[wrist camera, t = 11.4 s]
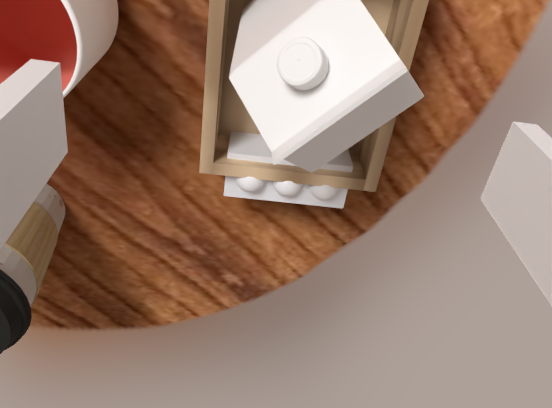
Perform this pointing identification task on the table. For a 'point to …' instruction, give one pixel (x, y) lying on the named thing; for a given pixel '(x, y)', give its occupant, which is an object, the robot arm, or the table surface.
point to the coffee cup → (27, 263)
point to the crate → (234, 117)
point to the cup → (56, 35)
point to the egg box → (287, 191)
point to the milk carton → (317, 77)
